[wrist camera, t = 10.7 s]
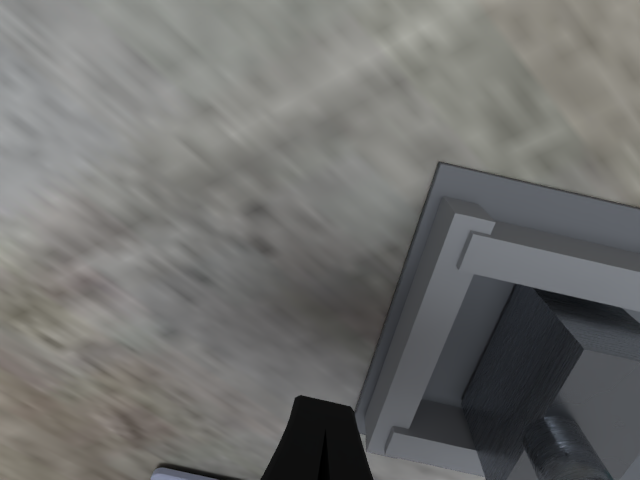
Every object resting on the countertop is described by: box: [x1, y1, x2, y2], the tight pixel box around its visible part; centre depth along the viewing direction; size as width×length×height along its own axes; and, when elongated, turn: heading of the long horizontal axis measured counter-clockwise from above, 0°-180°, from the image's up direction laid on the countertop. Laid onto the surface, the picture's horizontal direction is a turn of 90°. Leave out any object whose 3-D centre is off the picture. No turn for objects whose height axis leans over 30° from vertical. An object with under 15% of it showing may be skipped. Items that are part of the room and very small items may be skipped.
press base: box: [354, 162, 640, 480], centre depth 14 cm, size 12×16×3 cm
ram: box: [461, 284, 640, 480], centre depth 11 cm, size 6×4×8 cm, turn 168°
